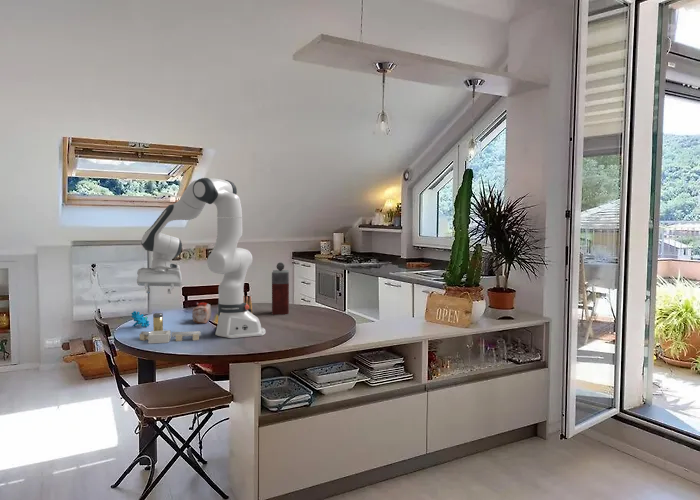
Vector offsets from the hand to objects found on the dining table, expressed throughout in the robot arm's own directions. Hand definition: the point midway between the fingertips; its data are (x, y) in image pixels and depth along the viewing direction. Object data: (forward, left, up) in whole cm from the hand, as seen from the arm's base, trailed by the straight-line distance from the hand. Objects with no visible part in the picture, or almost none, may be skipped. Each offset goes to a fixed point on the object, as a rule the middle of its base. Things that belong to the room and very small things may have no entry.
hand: (158, 292), depth 250 cm
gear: (+10, -8, -18) cm, 22 cm away
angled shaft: (+3, +20, -17) cm, 27 cm away
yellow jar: (-1, +14, -17) cm, 22 cm away
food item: (-18, -15, -18) cm, 30 cm away
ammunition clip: (-38, -19, -18) cm, 47 cm away
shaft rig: (-10, +24, -17) cm, 31 cm away
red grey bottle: (-59, -31, -18) cm, 69 cm away
